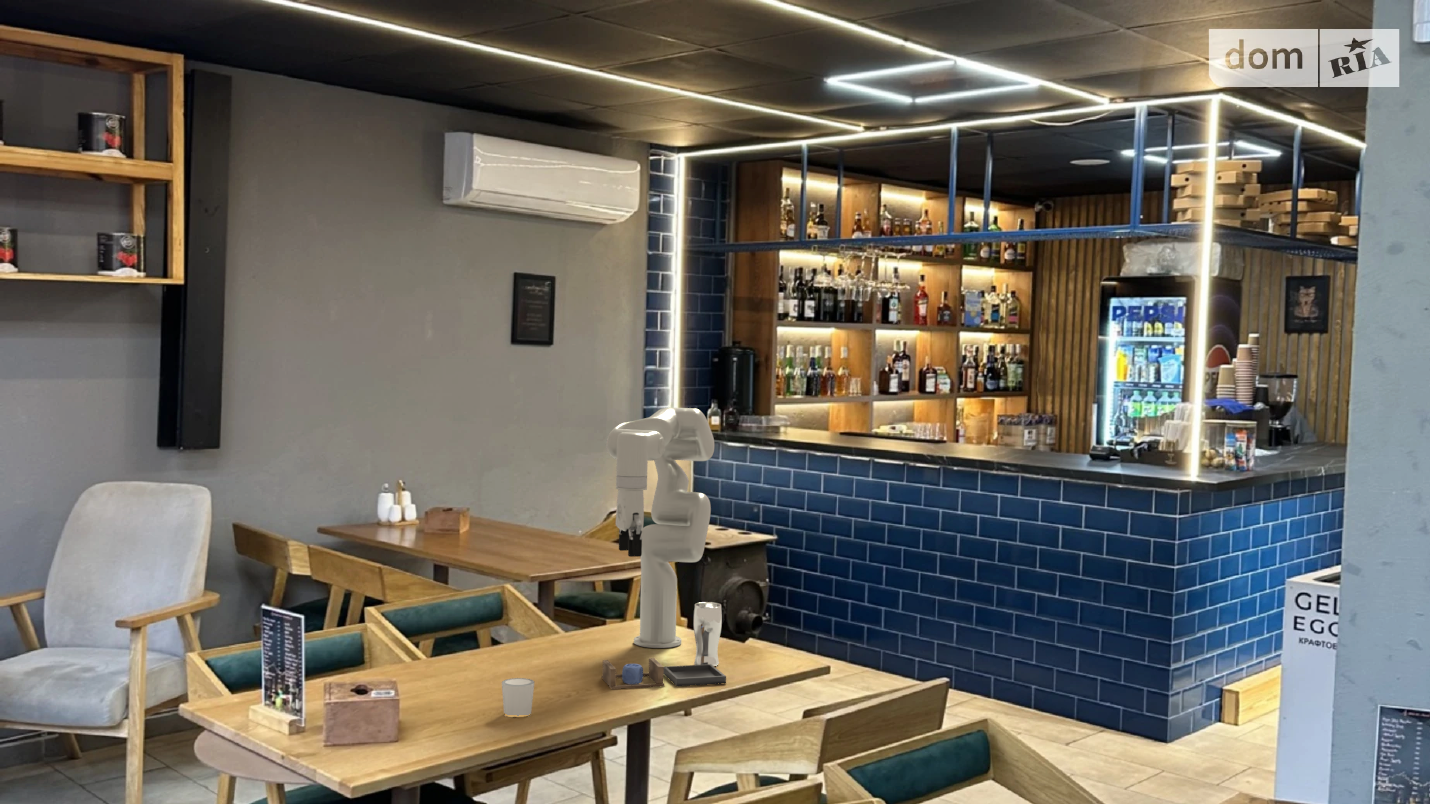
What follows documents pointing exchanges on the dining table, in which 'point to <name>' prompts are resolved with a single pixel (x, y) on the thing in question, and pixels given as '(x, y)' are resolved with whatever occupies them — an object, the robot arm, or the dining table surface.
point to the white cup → (517, 696)
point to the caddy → (654, 674)
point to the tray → (694, 675)
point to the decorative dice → (632, 674)
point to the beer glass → (707, 632)
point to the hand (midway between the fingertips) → (629, 553)
